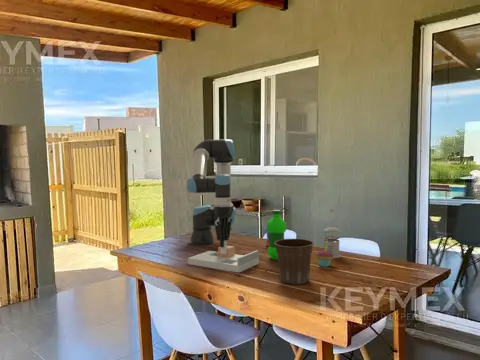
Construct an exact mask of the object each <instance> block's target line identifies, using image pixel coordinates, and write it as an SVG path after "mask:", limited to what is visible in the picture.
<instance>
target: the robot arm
mask: <svg viewBox="0 0 480 360" xmlns="http://www.w3.org/2000/svg"><path fill="white" fill-rule="evenodd" d="M192 158H193V159H192V160H193V165H192V173H191V177H190V178H187V179H186V190H187V192H188V193H192V194H193V193H194V194H199V193H200V194H201V193H204V194H205V193H212V194H213V193H214V194H215V195H214V196H215V197H214V199H215V200H214V202H215V203H214V207H212V205H211V204H206V205H199V206H195V207H193V209H192V233H191V236H190V239H189V240H190V241H189V242H190V245H193V246H207V245H213V244H215V237H214V233H213V230H212V229H213V227H214V229H215V233H216V240H217V241H219V247H220V253H221V254H227V246H228V245H227V244H228V241H229V239H230V235H231V227H232V226H233V225H234V223H235V219H236V207H235V206H234V204H233V202H232V200H231V199H232V197H231V196H232V192H231V191H232V188H231V186H232V185H231V184H232V183H231V181H232V180H231V177H232V176H231V175H232V174H231V164H233V162H234V160H235V159H236V154H235V147H234V140H232V139H205V140H202V141H201V142H199V143H198V144H197V145H196V146H195V147H194V149H193V151H192ZM208 160H213V163H214V164H215V165H216V166H215V167H216V174H215V176H214V177H207V170H208Z"/></svg>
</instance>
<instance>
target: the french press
mask: <svg viewBox="0 0 480 360" xmlns="http://www.w3.org/2000/svg"><path fill="white" fill-rule="evenodd" d="M329 211H330V212H334V211H335V210H334V209H333V208H331V209H329ZM323 231H324V232H323V234H322V236H324V239H323V240H322V242H323V244H324V246H323V247H324V249H323V251H325V247H326V242H327V251H329V252H331V253H332V254H333V259H338V258H341V257H342V255H341V254H340V239H339V237H338V236H333V235H329V233H339V232H340V229H339V228H337V227H335V226H334V227H333V226H330V227H326V228H325V229H323ZM324 234H325V235H324ZM326 235H328V236H326Z"/></svg>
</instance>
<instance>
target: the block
mask: <svg viewBox="0 0 480 360" xmlns="http://www.w3.org/2000/svg"><path fill="white" fill-rule="evenodd" d="M235 247H236V246H234V245H227V254H221V253H220V246H218V247H217V250H218V251H217V252H218V256H220V257H227V258H229V257H231V256H234V255H235V254H236V253H235V252H236V250H235Z"/></svg>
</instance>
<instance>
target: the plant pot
mask: <svg viewBox="0 0 480 360" xmlns="http://www.w3.org/2000/svg"><path fill="white" fill-rule="evenodd" d="M274 244H275V245H276V252H277V255H278V260H277V261H278V271H279V280H280V282H282V283H285V284H290V285H304V284H307V283H308V282H309V281H310V270H311V258H312V257H311V256H312V253H313V246H314V241H312V240H308V239H304V238H284V239H282V240H278V241H275V243H274Z"/></svg>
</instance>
